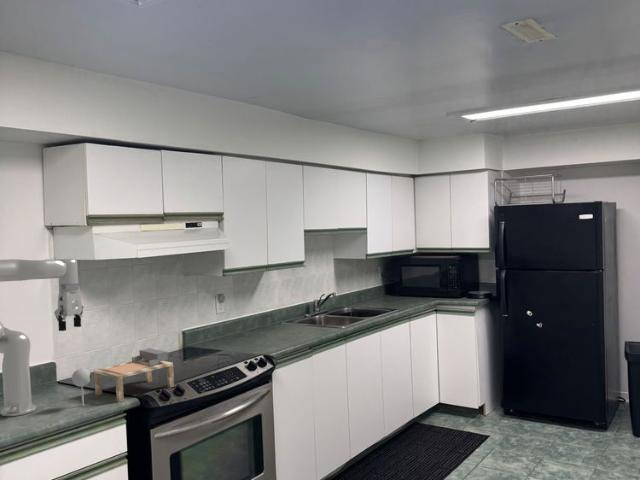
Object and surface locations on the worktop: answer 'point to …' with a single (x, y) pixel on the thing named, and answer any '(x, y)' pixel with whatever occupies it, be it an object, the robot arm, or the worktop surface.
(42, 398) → the worktop surface
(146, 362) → the trapdoor frame
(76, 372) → the lollipop
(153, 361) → the trapdoor
